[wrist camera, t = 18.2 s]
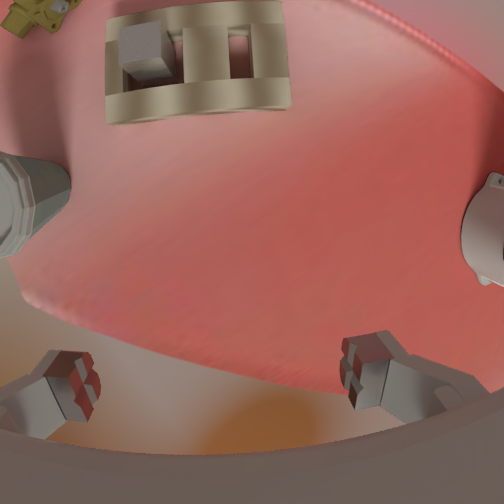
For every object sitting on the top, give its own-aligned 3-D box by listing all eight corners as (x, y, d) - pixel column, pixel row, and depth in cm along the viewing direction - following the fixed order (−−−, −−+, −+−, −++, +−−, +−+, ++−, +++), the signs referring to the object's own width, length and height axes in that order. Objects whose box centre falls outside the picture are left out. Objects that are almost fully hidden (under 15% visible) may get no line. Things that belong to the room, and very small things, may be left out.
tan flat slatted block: (276, 14, 32) (281, 1, 28) (284, 110, 36) (291, 105, 32) (116, 30, 31) (106, 19, 27) (117, 126, 35) (106, 123, 31)
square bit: (175, 51, 33) (160, 20, 23) (176, 81, 34) (160, 57, 24) (143, 56, 32) (119, 28, 23) (143, 86, 33) (118, 64, 24)
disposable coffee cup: (67, 132, 34) (-3, 126, 20) (101, 206, 37) (40, 234, 23) (12, 175, 34) (-61, 189, 20) (43, 243, 37) (-23, 282, 23)
